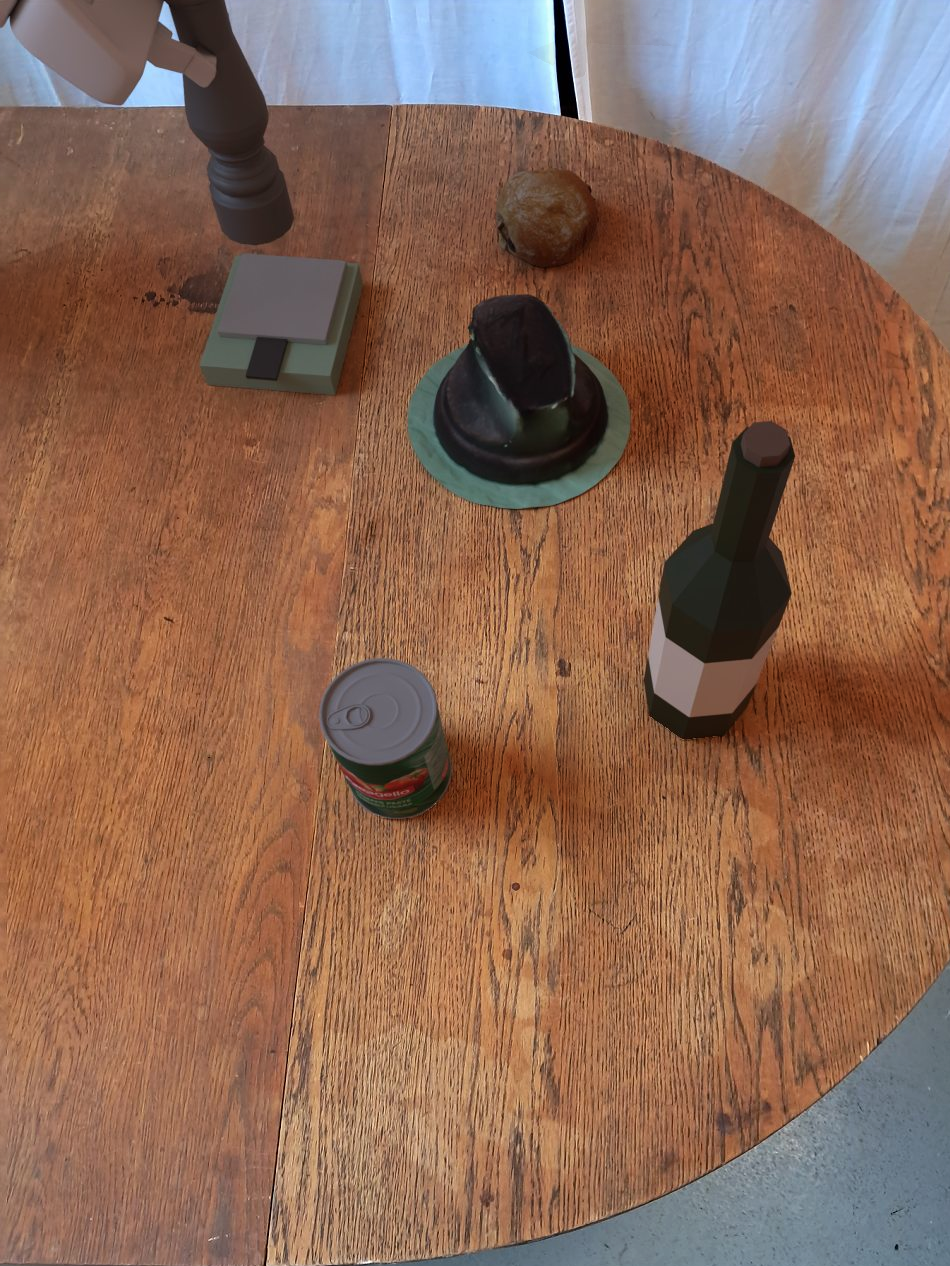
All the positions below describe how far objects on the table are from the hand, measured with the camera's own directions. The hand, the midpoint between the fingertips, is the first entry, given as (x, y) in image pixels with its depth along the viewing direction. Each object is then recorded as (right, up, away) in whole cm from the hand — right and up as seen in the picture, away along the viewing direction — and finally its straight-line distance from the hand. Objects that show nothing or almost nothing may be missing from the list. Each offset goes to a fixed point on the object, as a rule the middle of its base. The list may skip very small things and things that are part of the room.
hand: (218, 52), depth 75 cm
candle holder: (-1, -6, +13) cm, 14 cm away
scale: (-1, -12, +23) cm, 26 cm away
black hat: (+21, -21, +19) cm, 35 cm away
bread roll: (+24, +1, +29) cm, 38 cm away
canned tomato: (+12, -52, +5) cm, 54 cm away
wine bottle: (+35, -46, +7) cm, 58 cm away
